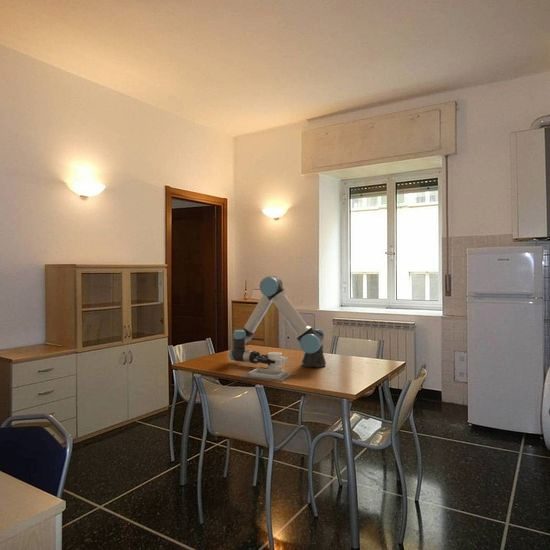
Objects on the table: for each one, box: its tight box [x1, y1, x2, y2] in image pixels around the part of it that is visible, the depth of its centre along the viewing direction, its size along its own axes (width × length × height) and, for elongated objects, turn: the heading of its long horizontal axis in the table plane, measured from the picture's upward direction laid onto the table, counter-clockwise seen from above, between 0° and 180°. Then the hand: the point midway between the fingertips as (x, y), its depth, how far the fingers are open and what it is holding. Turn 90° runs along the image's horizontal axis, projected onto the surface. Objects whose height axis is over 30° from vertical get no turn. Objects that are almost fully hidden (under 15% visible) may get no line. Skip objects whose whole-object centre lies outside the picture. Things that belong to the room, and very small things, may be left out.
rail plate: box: [240, 367, 293, 383], centre depth 250 cm, size 24×18×2 cm
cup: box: [267, 351, 286, 370], centre depth 265 cm, size 8×12×10 cm
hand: (284, 361), depth 263 cm, fingers closed on cup, 8 cm apart
